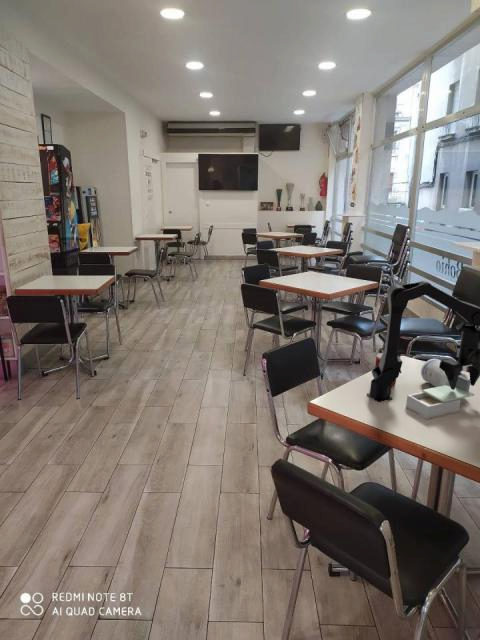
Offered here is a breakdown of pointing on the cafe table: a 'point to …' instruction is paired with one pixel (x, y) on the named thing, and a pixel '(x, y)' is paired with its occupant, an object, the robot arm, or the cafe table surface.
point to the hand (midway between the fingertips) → (462, 387)
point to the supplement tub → (435, 373)
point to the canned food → (378, 364)
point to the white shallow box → (431, 406)
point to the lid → (451, 391)
